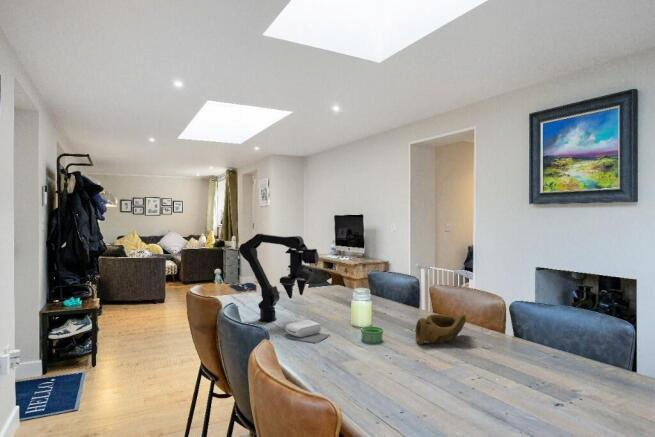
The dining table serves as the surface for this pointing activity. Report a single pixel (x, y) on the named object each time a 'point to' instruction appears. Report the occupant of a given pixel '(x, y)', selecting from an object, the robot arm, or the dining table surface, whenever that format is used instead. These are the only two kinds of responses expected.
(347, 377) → the dining table surface
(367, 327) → the ramekin
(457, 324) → the brown looped sculpture
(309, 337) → the mat
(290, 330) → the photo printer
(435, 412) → the dining table surface
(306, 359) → the dining table surface
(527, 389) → the dining table surface
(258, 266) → the robot arm
